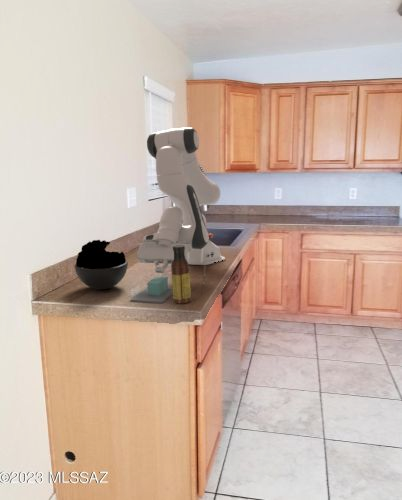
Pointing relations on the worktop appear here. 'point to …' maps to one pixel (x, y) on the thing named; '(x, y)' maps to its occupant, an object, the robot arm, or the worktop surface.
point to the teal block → (157, 285)
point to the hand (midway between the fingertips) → (159, 272)
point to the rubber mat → (152, 296)
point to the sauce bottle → (180, 276)
